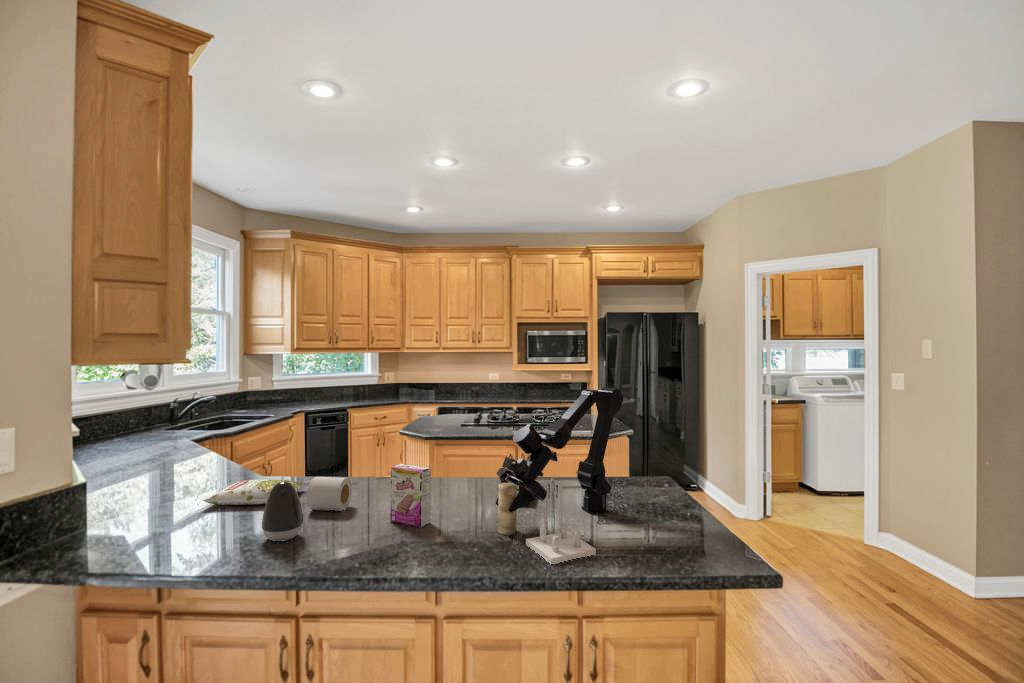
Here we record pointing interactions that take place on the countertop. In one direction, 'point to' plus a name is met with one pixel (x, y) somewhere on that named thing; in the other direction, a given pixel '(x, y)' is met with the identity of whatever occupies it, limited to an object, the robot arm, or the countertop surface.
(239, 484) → the frozen beans
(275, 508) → the aroma diffuser
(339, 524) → the countertop surface
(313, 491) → the toilet paper
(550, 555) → the pin plate
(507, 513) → the maple post
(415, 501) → the candy bar box
